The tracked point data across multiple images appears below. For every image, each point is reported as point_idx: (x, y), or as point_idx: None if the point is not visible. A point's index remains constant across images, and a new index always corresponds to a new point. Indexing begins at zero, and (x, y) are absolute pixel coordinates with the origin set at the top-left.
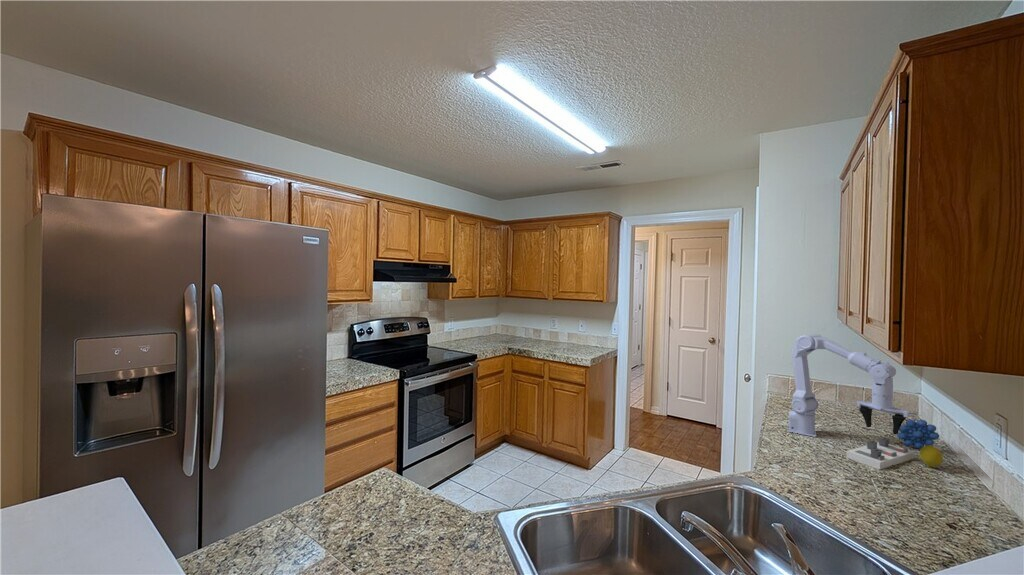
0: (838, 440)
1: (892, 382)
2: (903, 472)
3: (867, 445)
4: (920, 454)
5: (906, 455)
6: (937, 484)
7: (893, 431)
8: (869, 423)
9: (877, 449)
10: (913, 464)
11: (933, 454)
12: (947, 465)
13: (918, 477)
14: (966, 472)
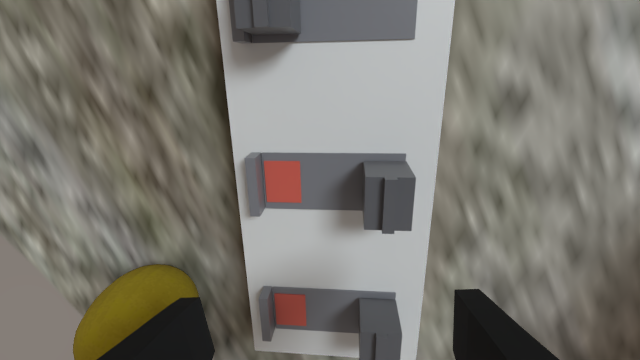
0: (607, 237)
1: None
2: (165, 53)
3: (406, 165)
4: (174, 296)
5: (249, 273)
6: (23, 56)
7: (172, 314)
8: (475, 357)
9: (255, 6)
10: (222, 238)
11: (92, 307)
12: None
13: (102, 59)
14: None
